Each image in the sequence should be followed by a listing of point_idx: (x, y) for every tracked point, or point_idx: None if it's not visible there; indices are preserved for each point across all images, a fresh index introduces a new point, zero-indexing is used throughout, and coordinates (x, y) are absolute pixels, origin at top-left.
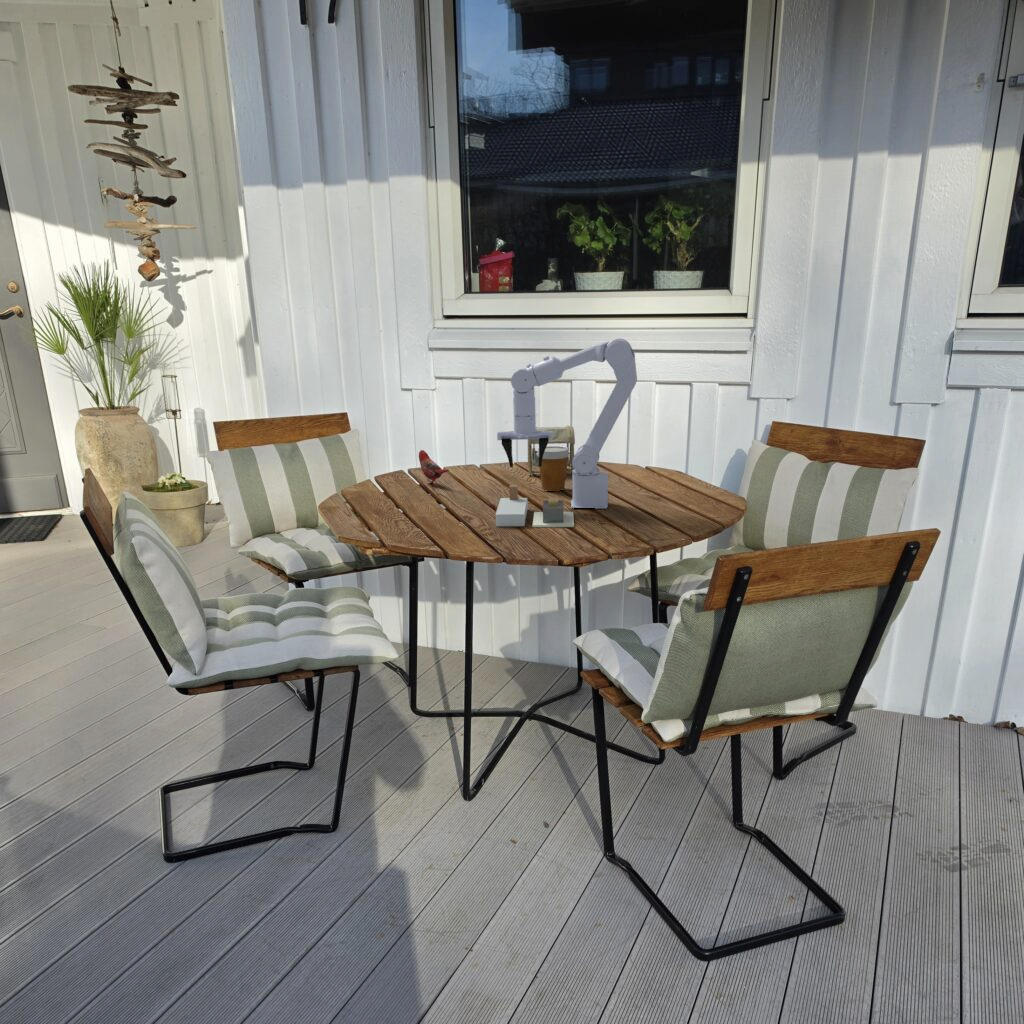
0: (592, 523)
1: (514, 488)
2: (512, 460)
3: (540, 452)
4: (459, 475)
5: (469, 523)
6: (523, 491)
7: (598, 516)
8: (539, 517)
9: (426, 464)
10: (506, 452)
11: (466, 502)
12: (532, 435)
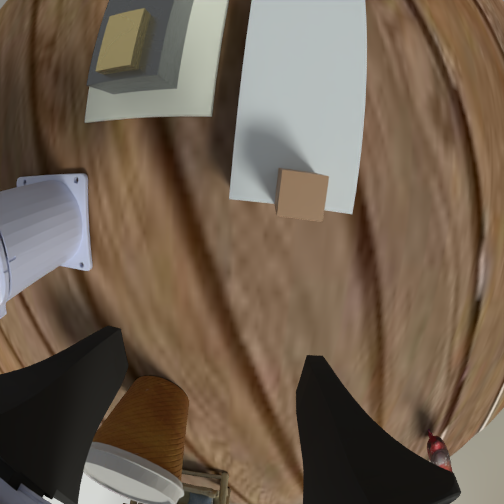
0: (67, 38)
1: (297, 171)
2: (301, 414)
3: (45, 376)
4: None
5: (431, 60)
6: (242, 399)
7: (42, 102)
8: (197, 46)
9: (449, 458)
10: (383, 432)
11: (426, 308)
12: None
